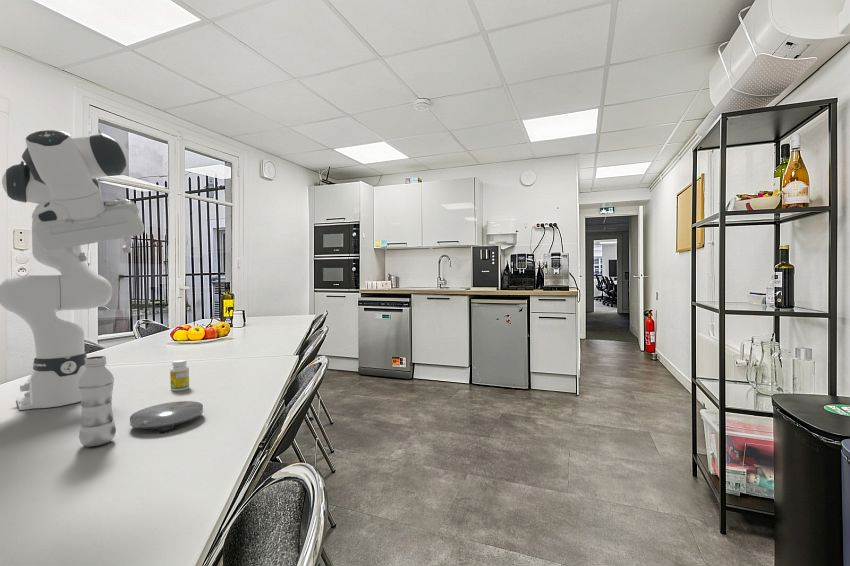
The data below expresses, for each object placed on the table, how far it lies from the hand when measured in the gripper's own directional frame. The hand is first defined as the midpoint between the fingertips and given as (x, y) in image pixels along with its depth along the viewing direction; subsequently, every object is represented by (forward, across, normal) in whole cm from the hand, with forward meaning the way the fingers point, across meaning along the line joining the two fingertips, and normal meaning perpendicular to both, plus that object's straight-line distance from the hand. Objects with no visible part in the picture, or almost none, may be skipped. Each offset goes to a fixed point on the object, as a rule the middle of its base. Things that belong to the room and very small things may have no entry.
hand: (106, 256), depth 99 cm
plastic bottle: (+31, +10, +31) cm, 46 cm away
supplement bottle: (+54, -2, -4) cm, 55 cm away
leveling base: (+38, -2, +26) cm, 46 cm away
